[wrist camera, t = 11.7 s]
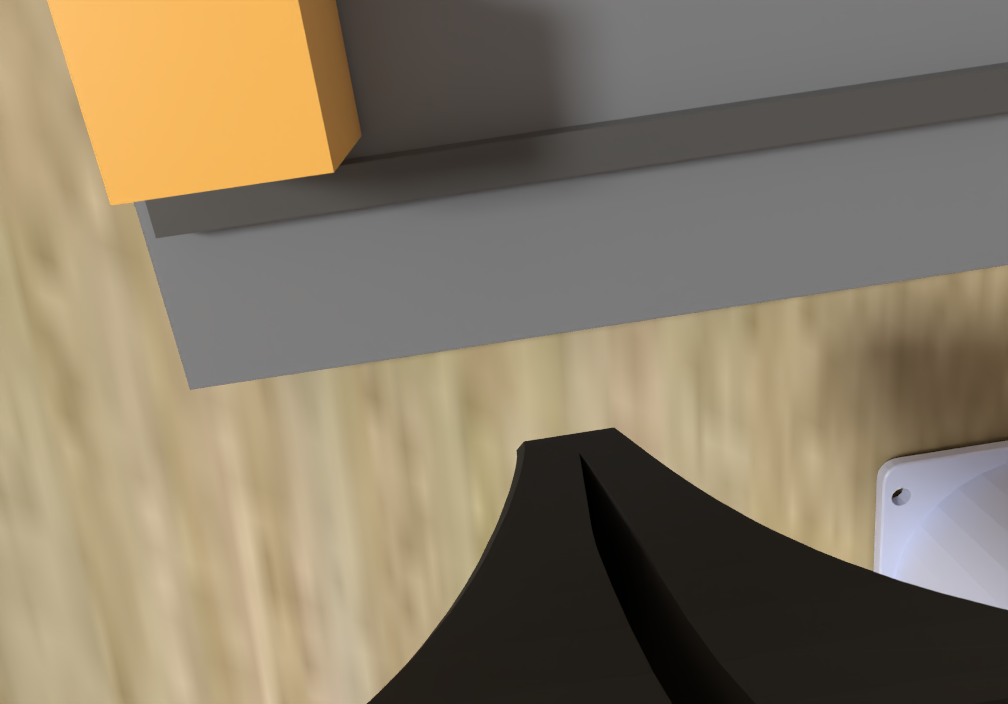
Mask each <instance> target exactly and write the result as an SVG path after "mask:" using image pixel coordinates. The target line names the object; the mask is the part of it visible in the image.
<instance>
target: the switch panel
mask: <svg viewBox="0 0 1008 704" xmlns="http://www.w3.org/2000/svg"><path fill="white" fill-rule="evenodd" d="M336 4H337V9H338V15H339V20H340V25H341V30H342V35H343V41H344V46H345V51H346V56H347V61H348V67H349V72H350V77H351V82H352V88H353V93H354V98H355V103H356V108H357V114H358V119H359V124H360V129H361V134H362V136H361V138H360V139H359V140H358V141H357V143H356V144H355V145H354V147H353V148H352V149H351V151H350V152H349V153H348V155H347V156H346V157H345V159H344V160H343V161H342V163H341V164H340V165H339V166H338V168H337V169H336V170H335V172H334V173H327V174H320V175H314V176H307V177H300V178H293V179H286V180H280V181H273V182H266V183H259V184H253V185H246V186H239V187H232V188H225V189H219V190H212V191H205V192H198V193H192V194H185V195H178V196H171V197H164V198H158V199H151V200H144V201H137V202H134V204H135V207H136V211H137V214H138V217H139V221H140V224H141V227H142V231H143V234H144V237H145V241H146V244H147V247H148V251H149V254H150V257H151V261H152V264H153V267H154V271H155V274H156V277H157V281H158V284H159V287H160V291H161V294H162V297H163V301H164V304H165V307H166V311H167V314H168V317H169V321H170V324H171V327H172V331H173V334H174V337H175V341H176V344H177V347H178V351H179V354H180V357H181V361H182V364H183V367H184V371H185V374H186V377H187V381H188V384H189V387H190V390H192V389H198V388H205V387H211V386H218V385H224V384H231V383H237V382H244V381H250V380H257V379H264V378H270V377H277V376H283V375H290V374H296V373H303V372H309V371H316V370H323V369H329V368H336V367H342V366H349V365H355V364H362V363H368V362H375V361H381V360H388V359H395V358H401V357H408V356H414V355H421V354H427V353H434V352H440V351H447V350H453V349H460V348H467V347H473V346H480V345H486V344H493V343H499V342H506V341H512V340H519V339H525V338H532V337H539V336H545V335H552V334H558V333H565V332H571V331H578V330H584V329H591V328H597V327H604V326H611V325H617V324H624V323H630V322H637V321H643V320H650V319H656V318H663V317H670V316H676V315H683V314H689V313H696V312H702V311H709V310H715V309H722V308H728V307H735V306H742V305H748V304H755V303H761V302H768V301H774V300H781V299H787V298H794V297H800V296H807V295H814V294H820V293H827V292H833V291H840V290H846V289H853V288H859V287H866V286H872V285H879V284H886V283H892V282H899V281H905V280H912V279H918V278H925V277H931V276H938V275H944V274H951V273H958V272H964V271H971V270H977V269H984V268H990V267H997V266H1003V265H1008V0H336Z"/></svg>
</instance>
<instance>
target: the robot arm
mask: <svg viewBox="0 0 1008 704" xmlns="http://www.w3.org/2000/svg"><path fill="white" fill-rule="evenodd" d="M901 488H903V490H902V492H901V493H900V494H899V495H898V496H897V497H894V498H892V495H893V493H894V492H895V491H896V490H899V489H901ZM367 704H1008V440H1007V441H1001V442H994V443H988V444H982V445H975V446H969V447H963V448H956V449H950V450H944V451H937V452H931V453H925V454H918V455H912V456H906V457H899V458H895V459H892V460H889V461H887V462H886V463H885V464H883V465H882V467H881V468H880V470H879V471H878V475H877V492H876V519H875V547H874V571H871V570H868V569H865V568H862V567H859V566H856V565H854V564H851V563H848V562H845V561H843V560H840V559H837V558H835V557H832V556H830V555H827V554H825V553H822V552H820V551H817V550H815V549H813V548H811V547H808V546H806V545H804V544H802V543H800V542H797V541H795V540H793V539H791V538H789V537H786V536H784V535H782V534H780V533H778V532H775V531H773V530H771V529H769V528H767V527H765V526H763V525H761V524H759V523H757V522H755V521H754V520H752V519H750V518H748V517H746V516H744V515H743V514H741V513H739V512H737V511H736V510H734V509H732V508H730V507H729V506H727V505H725V504H723V503H722V502H720V501H718V500H716V499H715V498H713V497H712V496H710V495H708V494H707V493H705V492H704V491H702V490H700V489H699V488H697V487H696V486H694V485H693V484H691V483H690V482H688V481H686V480H685V479H684V478H682V477H681V476H679V475H678V474H676V473H675V472H673V471H672V470H670V469H669V468H668V467H666V466H665V465H663V464H662V463H661V462H659V461H658V460H657V459H655V458H654V457H653V456H651V455H650V454H648V453H647V452H646V451H645V450H643V449H642V448H641V447H639V446H638V445H637V444H635V443H634V442H633V441H631V440H630V439H629V438H627V437H626V436H625V435H623V434H622V433H621V432H619V431H618V430H617V429H615V428H608V429H602V430H595V431H589V432H582V433H576V434H570V435H563V436H557V437H550V438H544V439H537V440H531V441H525V442H523V444H522V445H521V446H520V447H519V448H518V450H517V463H516V469H515V473H514V477H513V481H512V484H511V488H510V491H509V494H508V497H507V499H506V502H505V505H504V507H503V510H502V513H501V516H500V518H499V521H498V523H497V525H496V528H495V530H494V532H493V534H492V536H491V538H490V540H489V542H488V544H487V546H486V548H485V550H484V552H483V555H482V557H481V559H480V561H479V562H478V564H477V566H476V568H475V570H474V571H473V573H472V575H471V577H470V578H469V580H468V582H467V583H466V585H465V587H464V588H463V590H462V591H461V593H460V594H459V596H458V597H457V599H456V601H455V602H454V604H453V605H452V607H451V608H450V610H449V611H448V612H447V614H446V615H445V616H444V618H443V619H442V620H441V622H440V623H439V624H438V626H437V627H436V628H435V630H434V631H433V632H432V634H431V635H430V636H429V638H428V639H427V640H426V642H425V643H424V644H423V645H422V647H421V648H420V649H419V650H418V651H417V653H416V654H415V655H414V656H413V657H412V658H411V660H410V661H409V662H408V663H407V664H406V665H405V666H404V667H403V669H402V670H401V671H400V672H399V673H398V674H397V675H396V676H395V677H394V678H393V679H392V680H391V681H390V682H389V683H388V684H387V685H386V686H385V687H384V688H383V689H382V690H381V691H380V692H379V693H378V694H377V695H376V696H375V697H374V698H373V699H372V700H371V701H369V702H368V703H367Z"/></svg>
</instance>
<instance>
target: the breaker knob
mask: <svg viewBox="0 0 1008 704" xmlns="http://www.w3.org/2000/svg"><path fill="white" fill-rule="evenodd" d="M47 1H48V5H49V8H50V11H51V14H52V18H53V21H54V24H55V27H56V30H57V34H58V37H59V40H60V43H61V47H62V50H63V53H64V56H65V59H66V63H67V66H68V69H69V72H70V76H71V79H72V82H73V85H74V88H75V92H76V95H77V98H78V101H79V105H80V108H81V111H82V114H83V117H84V121H85V124H86V127H87V130H88V134H89V137H90V140H91V143H92V146H93V150H94V153H95V156H96V159H97V163H98V166H99V169H100V172H101V175H102V179H103V182H104V185H105V188H106V192H107V195H108V198H109V201H110V204H111V205H117V204H124V203H130V202H137V201H144V200H151V199H158V198H164V197H171V196H178V195H185V194H192V193H198V192H205V191H212V190H219V189H225V188H232V187H239V186H246V185H253V184H259V183H266V182H273V181H280V180H286V179H293V178H300V177H307V176H314V175H320V174H327V173H334V172H335V170H336V169H337V168H338V166H339V165H340V164H341V163H342V161H343V160H344V159H345V157H346V156H347V155H348V153H349V152H350V151H351V149H352V148H353V147H354V145H355V144H356V143H357V141H358V140H359V139H360V138H361V136H362V134H361V129H360V124H359V119H358V114H357V108H356V103H355V98H354V93H353V88H352V82H351V77H350V72H349V67H348V61H347V56H346V51H345V46H344V41H343V35H342V30H341V25H340V20H339V15H338V9H337V4H336V0H47Z"/></svg>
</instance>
